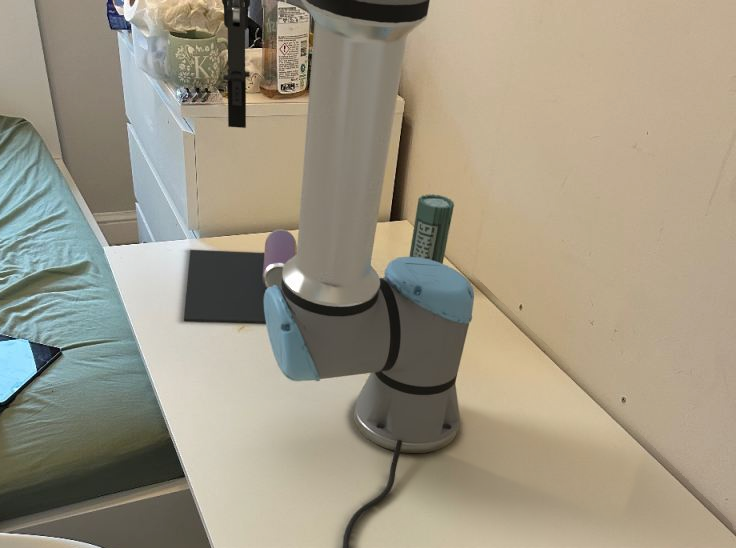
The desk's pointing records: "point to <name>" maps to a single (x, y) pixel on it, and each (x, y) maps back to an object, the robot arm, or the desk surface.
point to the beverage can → (277, 256)
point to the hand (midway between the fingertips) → (237, 125)
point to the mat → (225, 287)
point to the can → (431, 227)
